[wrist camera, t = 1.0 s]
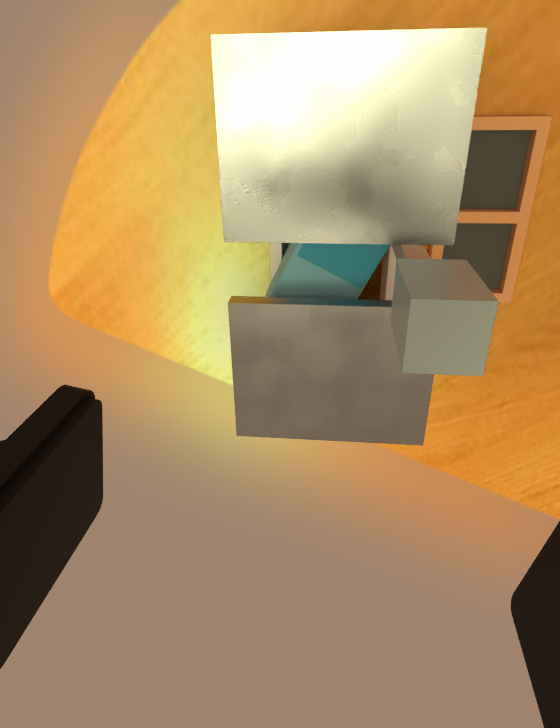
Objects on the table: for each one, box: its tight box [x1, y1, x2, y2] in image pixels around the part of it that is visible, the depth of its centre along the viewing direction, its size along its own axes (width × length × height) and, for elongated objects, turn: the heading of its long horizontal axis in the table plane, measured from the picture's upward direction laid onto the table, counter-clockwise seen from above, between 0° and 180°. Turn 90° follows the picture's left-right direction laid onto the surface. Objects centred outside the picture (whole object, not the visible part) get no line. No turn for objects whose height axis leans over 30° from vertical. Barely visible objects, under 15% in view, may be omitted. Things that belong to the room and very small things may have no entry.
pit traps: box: [429, 116, 553, 303], centre depth 36 cm, size 6×13×1 cm, turn 1°
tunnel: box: [211, 28, 487, 445], centre depth 31 cm, size 11×20×15 cm, turn 1°
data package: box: [265, 243, 391, 299], centre depth 32 cm, size 12×4×12 cm, turn 154°
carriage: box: [270, 243, 499, 376], centre depth 28 cm, size 10×16×22 cm, turn 1°
